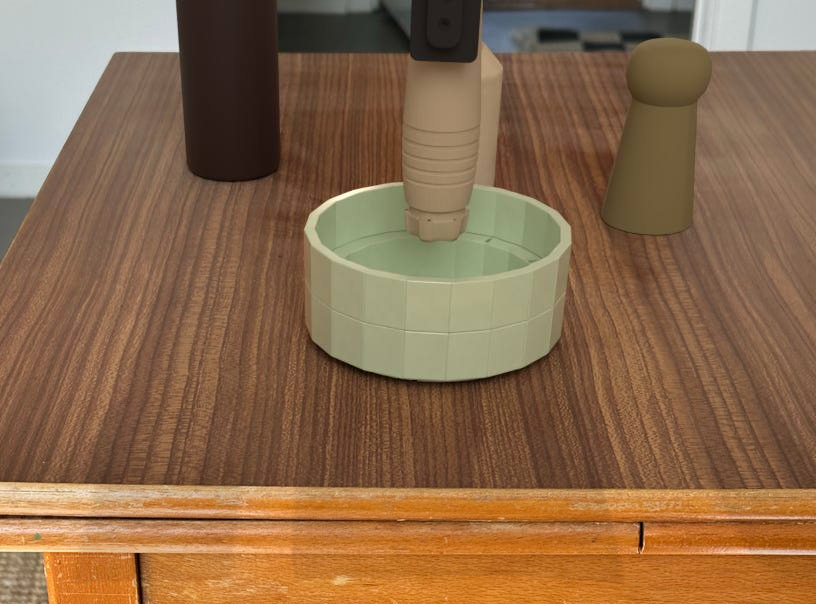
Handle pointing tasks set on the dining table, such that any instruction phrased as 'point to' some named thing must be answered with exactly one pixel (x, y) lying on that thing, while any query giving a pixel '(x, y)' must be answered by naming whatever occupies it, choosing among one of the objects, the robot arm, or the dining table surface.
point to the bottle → (230, 87)
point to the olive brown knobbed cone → (658, 139)
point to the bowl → (435, 285)
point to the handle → (440, 145)
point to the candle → (488, 117)
